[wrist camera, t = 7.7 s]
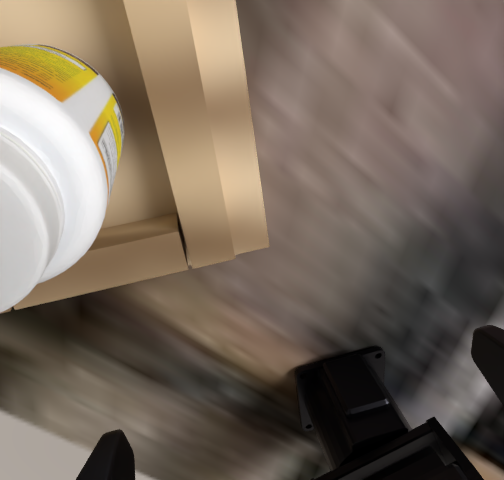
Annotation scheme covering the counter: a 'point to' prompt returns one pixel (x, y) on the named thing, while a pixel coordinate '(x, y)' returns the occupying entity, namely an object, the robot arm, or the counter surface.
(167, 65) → the stand
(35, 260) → the supplement bottle
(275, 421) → the counter surface
